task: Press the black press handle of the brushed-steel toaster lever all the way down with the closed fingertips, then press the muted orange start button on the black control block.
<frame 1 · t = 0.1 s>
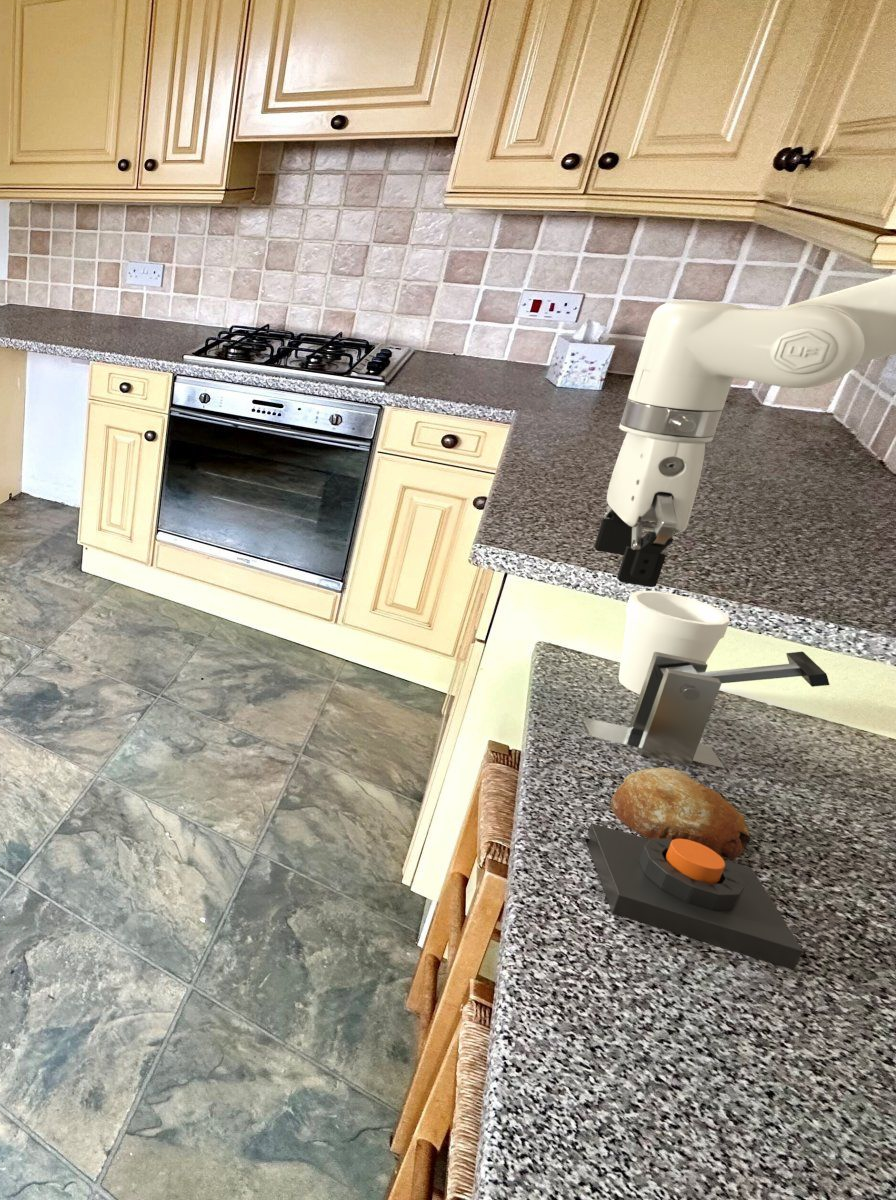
hand: (622, 567, 88), 22 cm above the countertop, tool pointing down, fingers open, 9 cm apart
metal lever bracket: (652, 762, 90), on the countertop
control block: (679, 899, 71), on the countertop
foam cup: (647, 695, 103), on the countertop
bread roll: (671, 832, 80), on the countertop
start button: (694, 860, 70), point 4 cm above the countertop, slide at 0.1 cm
toaster lever: (738, 675, 84), point 13 cm above the countertop, hinge at 25.0°
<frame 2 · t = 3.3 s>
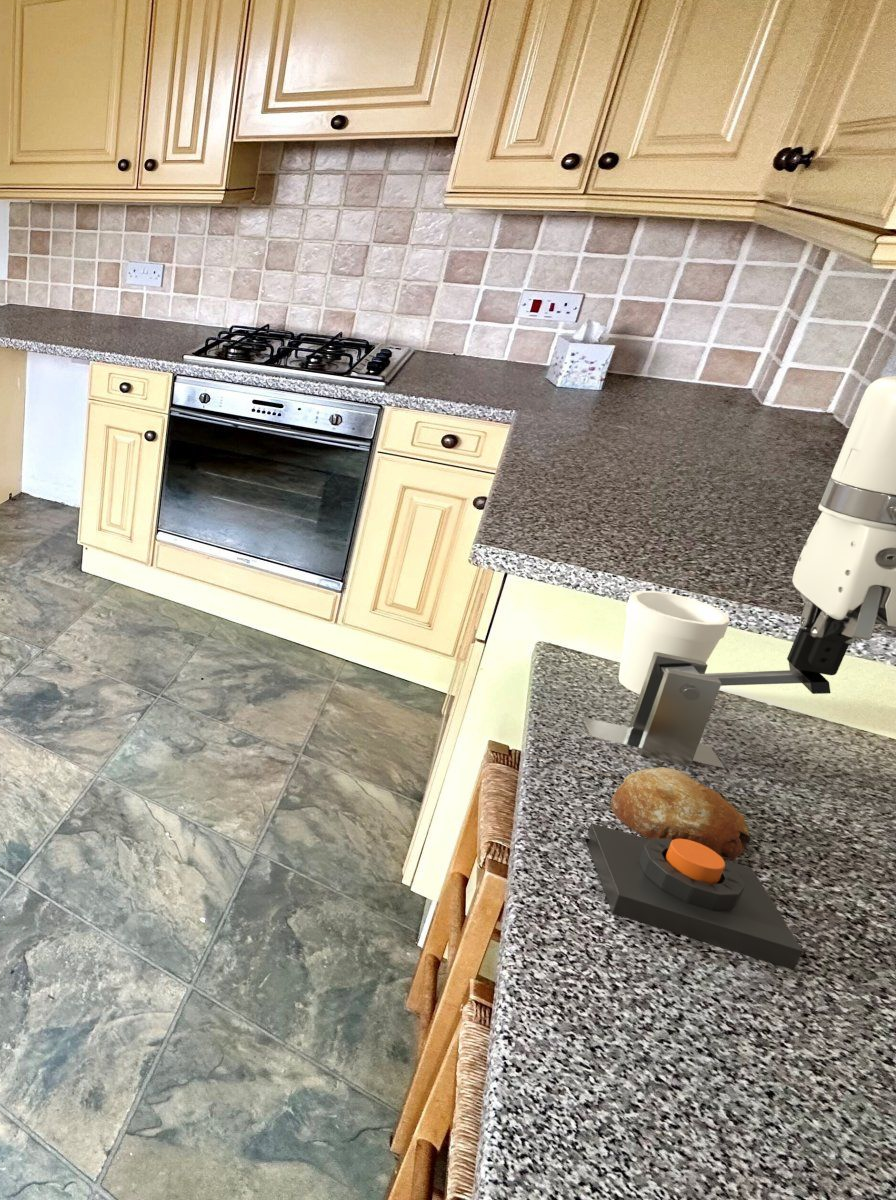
hand: (810, 668, 81), 15 cm above the countertop, tool pointing down, fingers closed
toaster lever: (738, 678, 84), point 13 cm above the countertop, hinge at 20.0°, touching gripper
everything else where it was.
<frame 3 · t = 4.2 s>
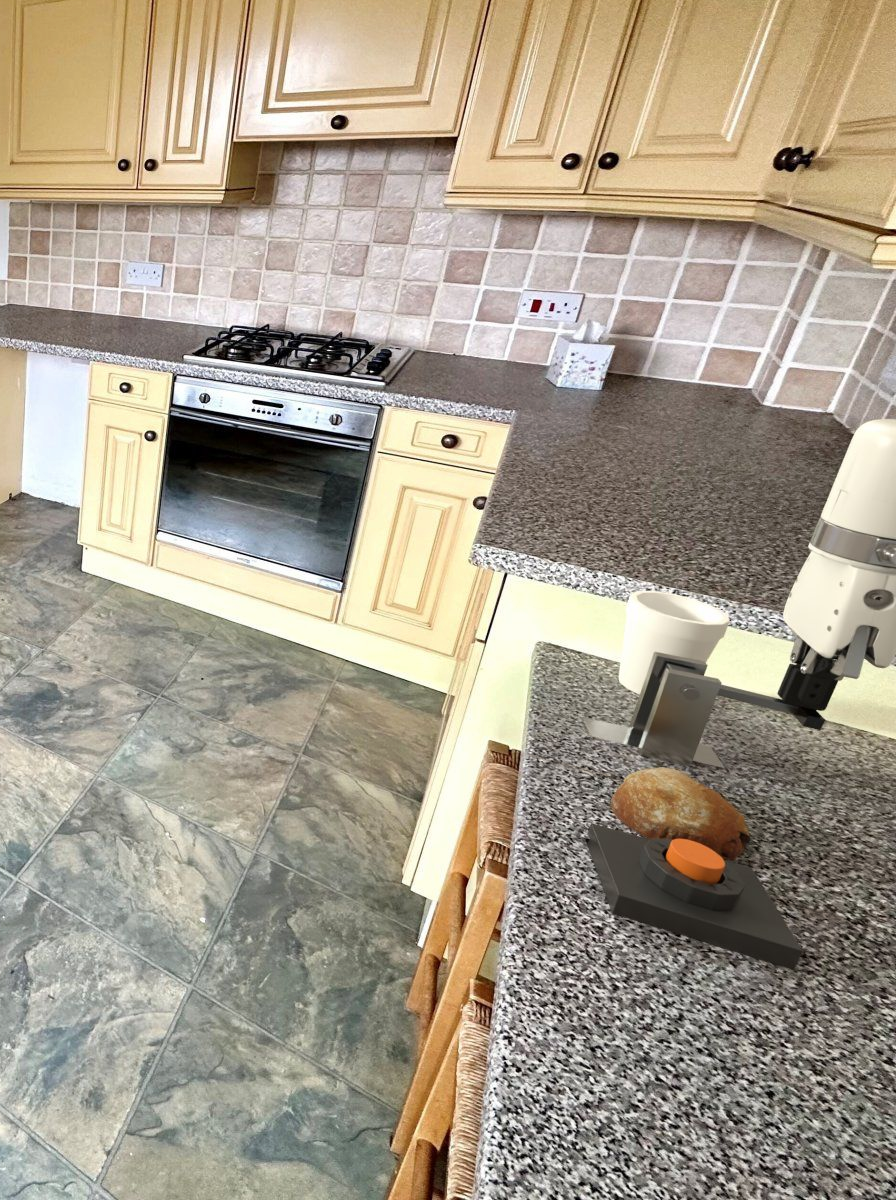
hand: (800, 703, 82), 11 cm above the countertop, tool pointing down, fingers closed
toaster lever: (736, 694, 84), point 11 cm above the countertop, hinge at -3.6°, touching gripper
everything else where it was.
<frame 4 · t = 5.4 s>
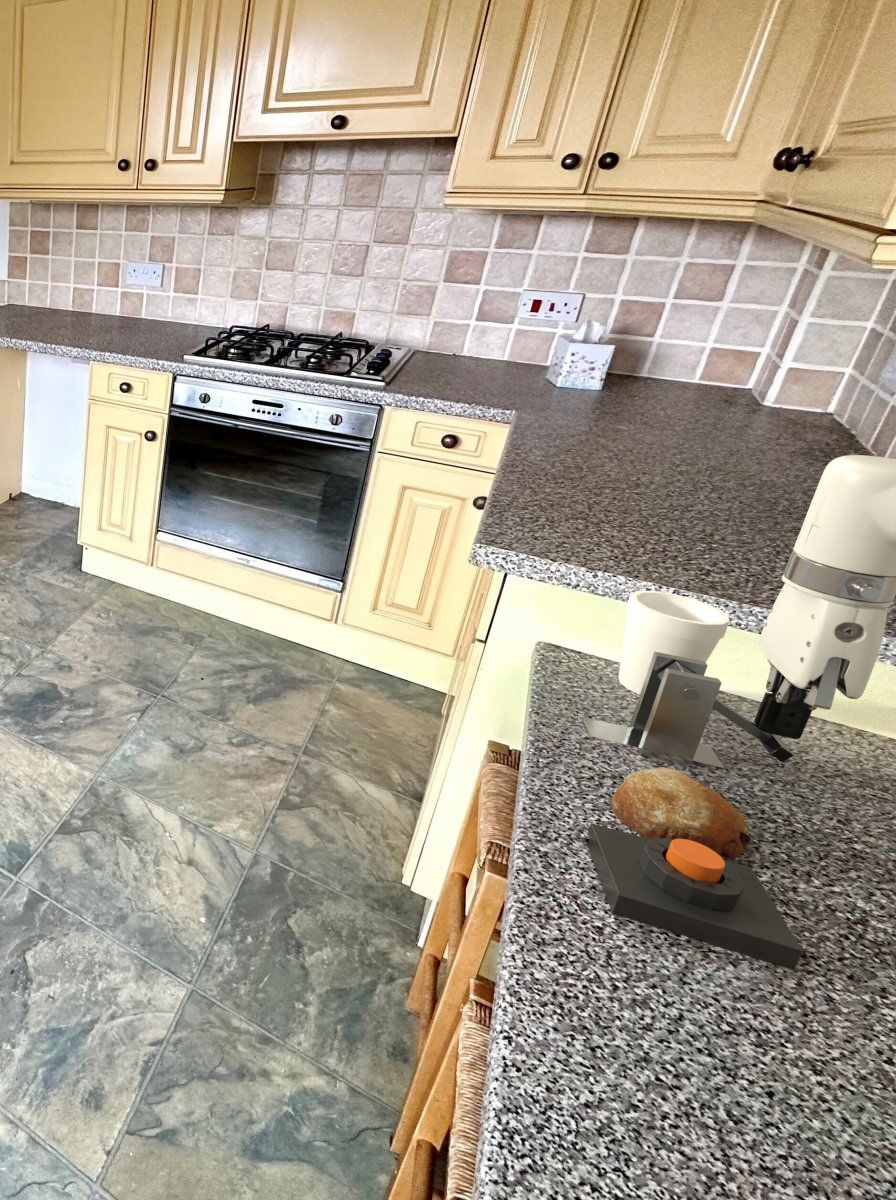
hand: (776, 731, 84), 7 cm above the countertop, tool pointing down, fingers closed
toaster lever: (722, 708, 85), point 9 cm above the countertop, hinge at -30.1°, touching gripper
everything else where it was.
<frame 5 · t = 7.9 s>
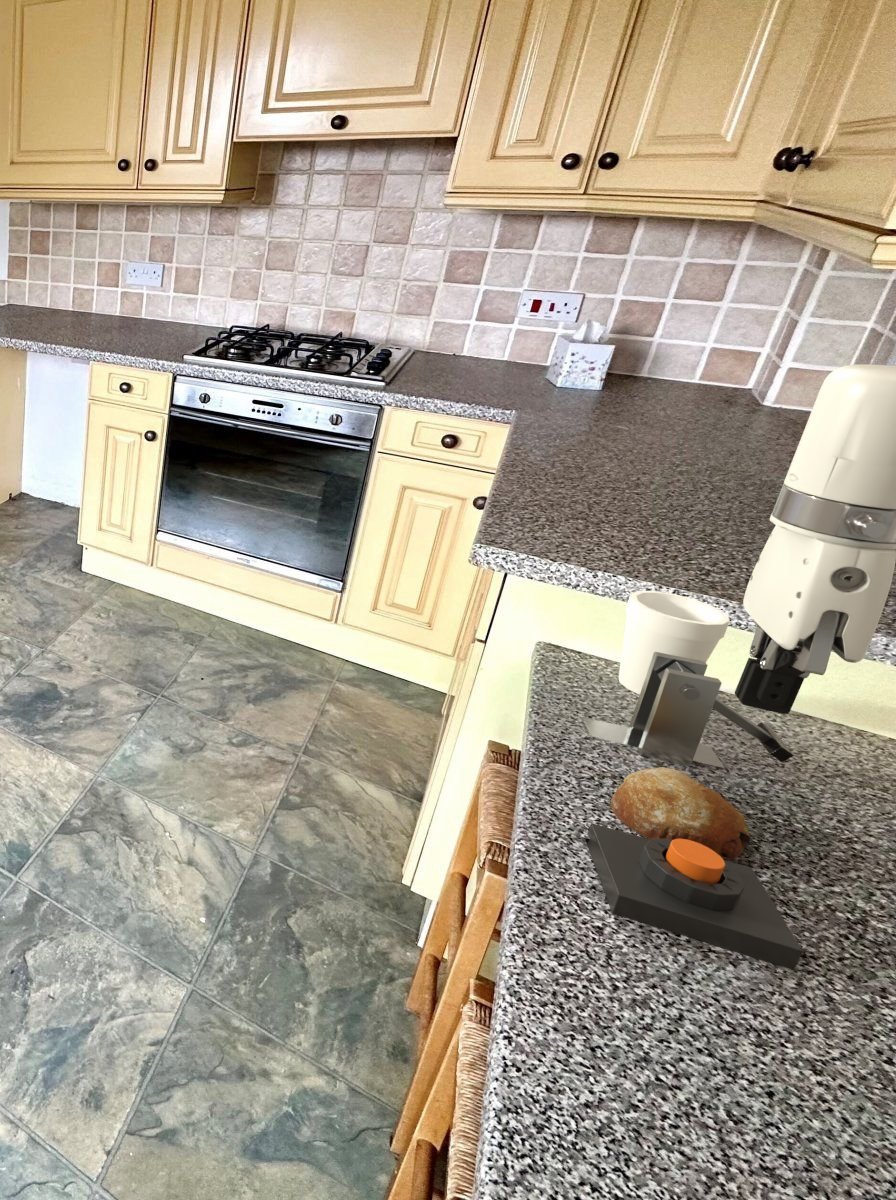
hand: (760, 704, 70), 18 cm above the countertop, tool pointing down, fingers closed
toaster lever: (722, 708, 85), point 9 cm above the countertop, hinge at -30.1°
everything else where it was.
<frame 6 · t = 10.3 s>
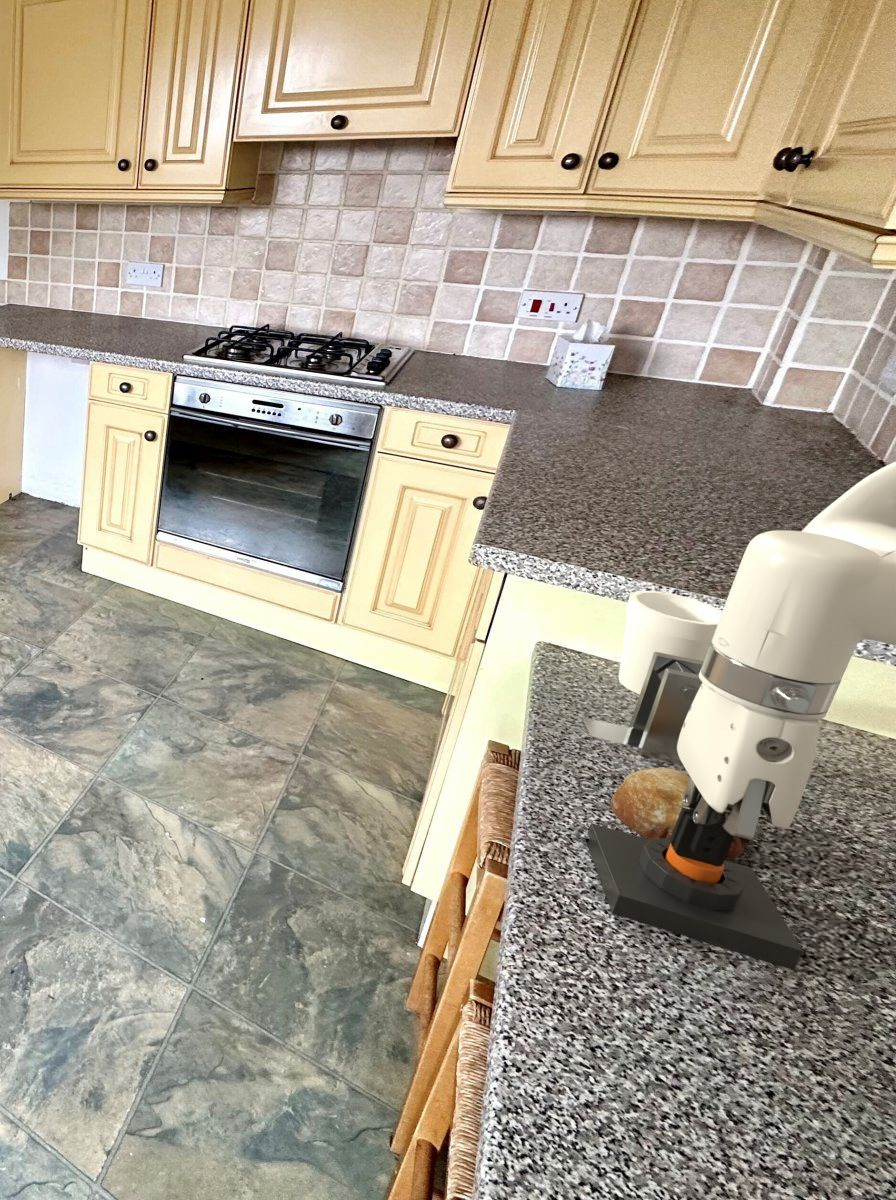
hand: (694, 854, 70), 5 cm above the countertop, tool pointing down, fingers closed
start button: (693, 862, 70), point 4 cm above the countertop, slide at -0.1 cm, touching gripper
everything else where it was.
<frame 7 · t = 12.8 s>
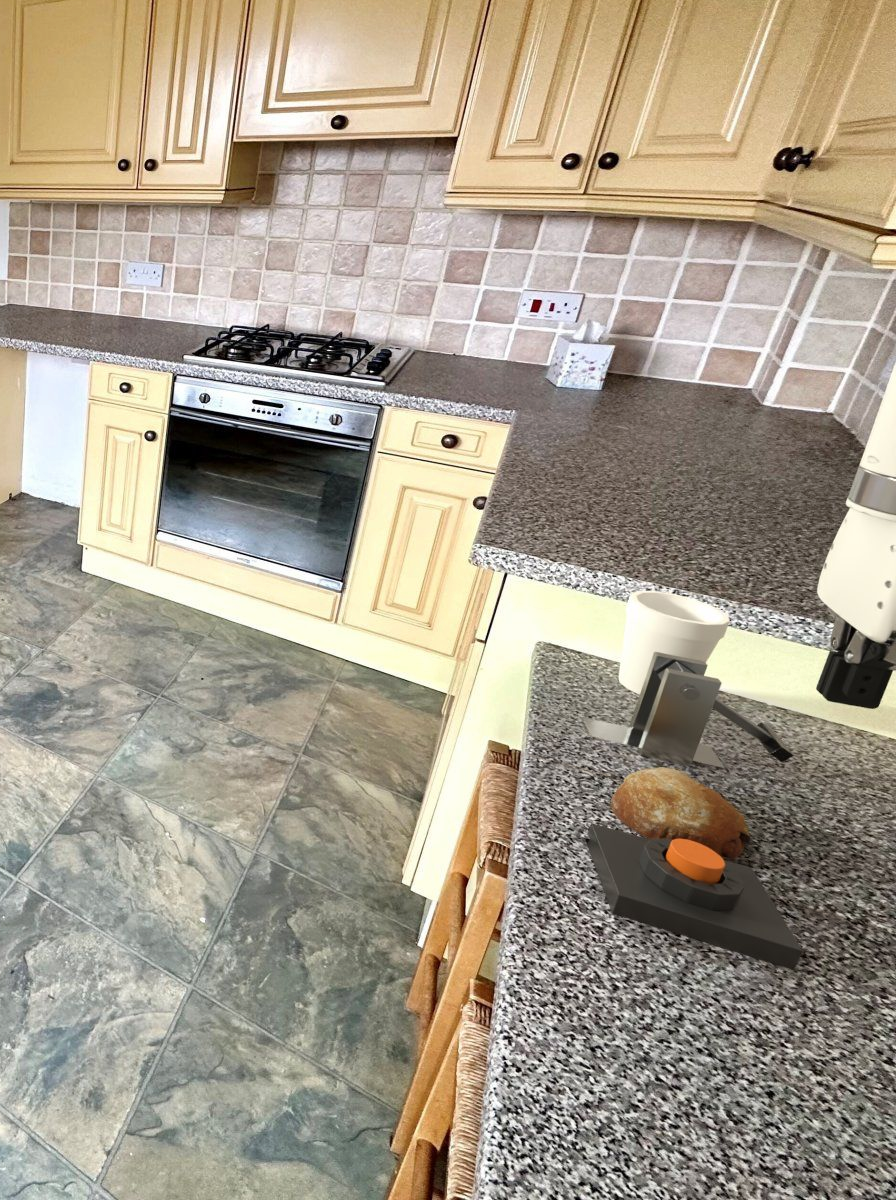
hand: (845, 699, 66), 21 cm above the countertop, tool pointing down, fingers closed
start button: (694, 860, 70), point 4 cm above the countertop, slide at 0.1 cm
everything else where it was.
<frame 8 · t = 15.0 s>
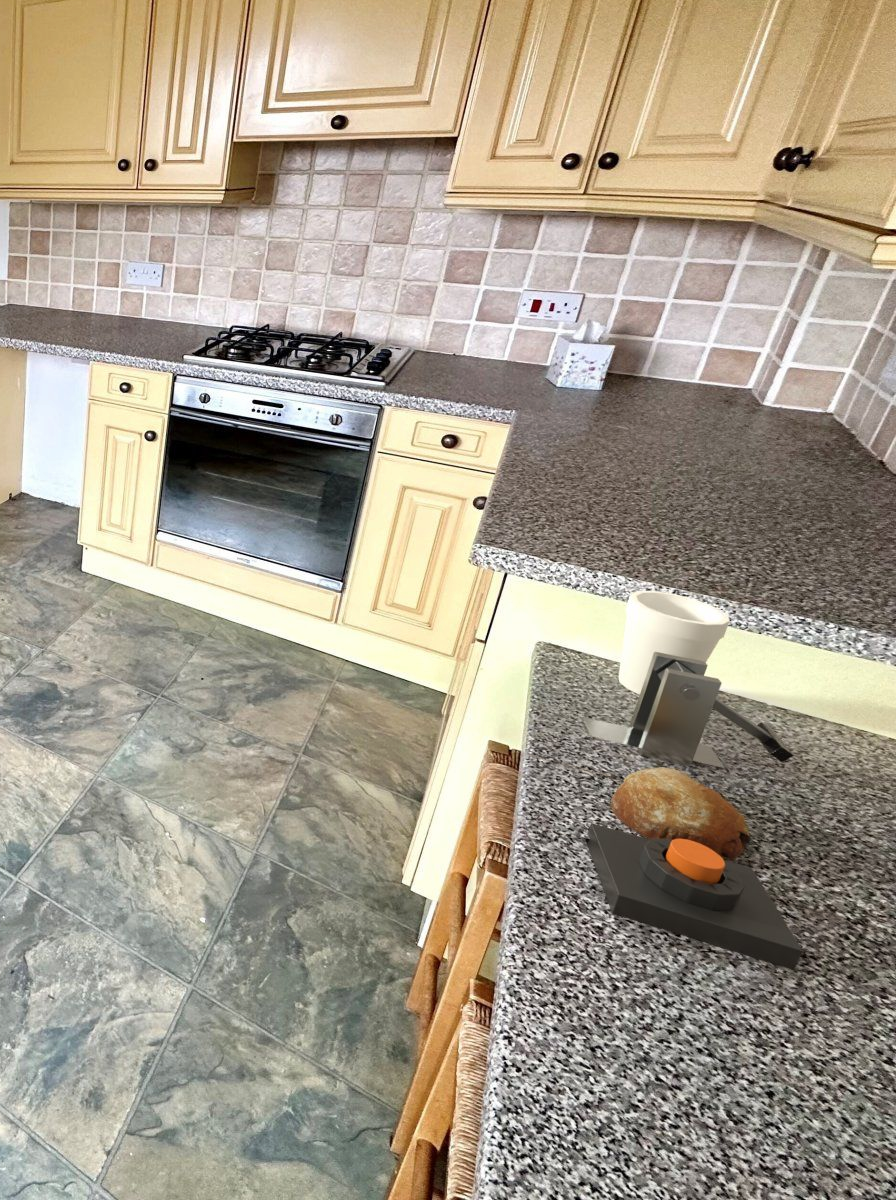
nothing on the countertop moved.
at the end: toaster lever at -30° (first picture: +25°); start button pushed in 1.0 cm at the most during the clip, back to where it started at the end; start button slide at 0.1 cm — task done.
